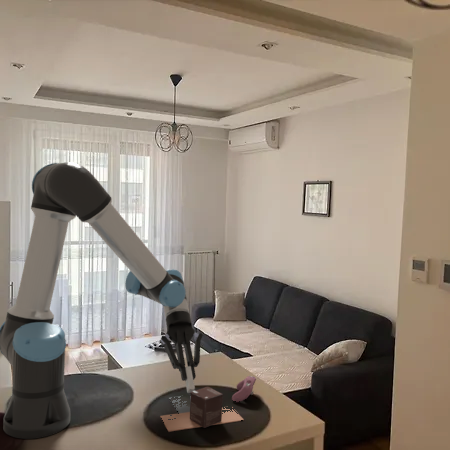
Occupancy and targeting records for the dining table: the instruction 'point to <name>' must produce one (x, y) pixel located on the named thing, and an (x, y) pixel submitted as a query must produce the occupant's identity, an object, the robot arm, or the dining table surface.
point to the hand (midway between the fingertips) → (191, 390)
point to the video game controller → (244, 389)
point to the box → (206, 406)
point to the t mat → (185, 422)
